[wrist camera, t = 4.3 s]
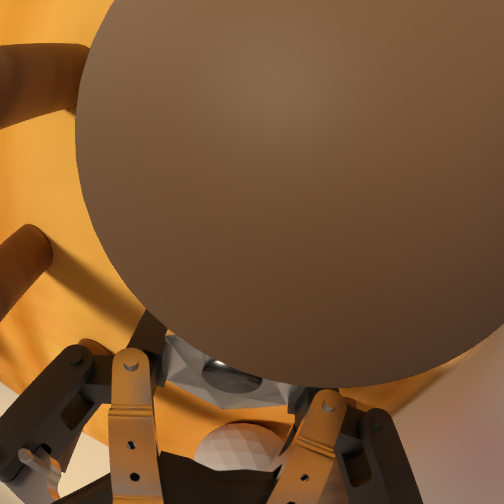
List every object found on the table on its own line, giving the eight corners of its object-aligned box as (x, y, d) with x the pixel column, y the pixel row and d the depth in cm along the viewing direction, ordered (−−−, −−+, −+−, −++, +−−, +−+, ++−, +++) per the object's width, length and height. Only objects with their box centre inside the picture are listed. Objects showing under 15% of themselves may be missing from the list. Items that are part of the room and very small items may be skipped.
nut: (197, 239, 12) (164, 307, 8) (317, 266, 12) (327, 342, 9) (188, 332, 15) (166, 397, 12) (281, 352, 15) (277, 420, 12)
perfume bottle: (302, 414, 19) (295, 568, 9) (280, 454, 24) (271, 560, 14) (199, 402, 19) (164, 553, 9) (205, 445, 24) (183, 549, 14)
